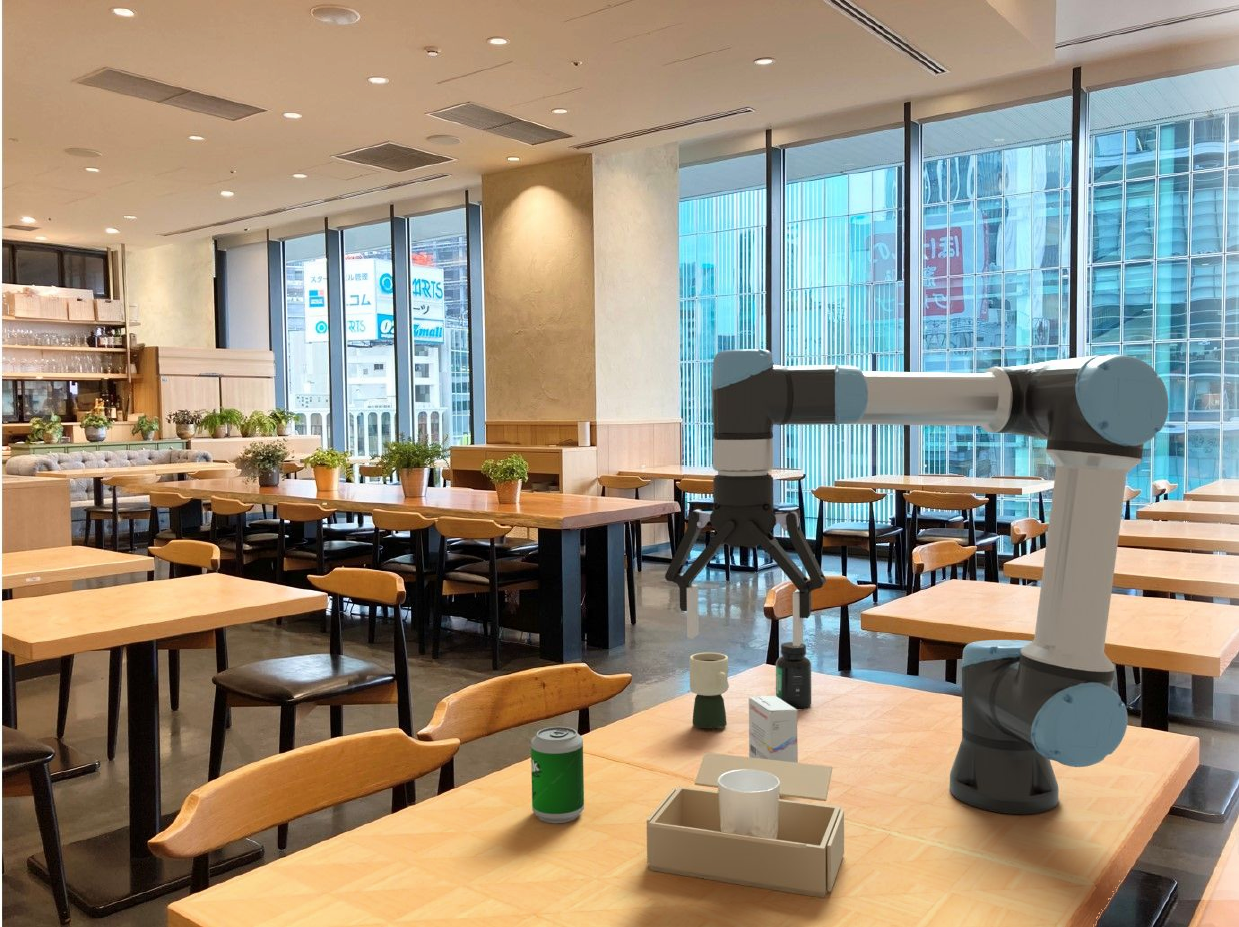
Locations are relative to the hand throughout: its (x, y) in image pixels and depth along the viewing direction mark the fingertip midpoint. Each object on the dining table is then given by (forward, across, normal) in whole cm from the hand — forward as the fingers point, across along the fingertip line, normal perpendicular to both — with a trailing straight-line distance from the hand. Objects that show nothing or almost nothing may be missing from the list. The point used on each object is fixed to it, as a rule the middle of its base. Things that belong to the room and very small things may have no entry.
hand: (744, 640), depth 125 cm
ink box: (+29, +3, -30) cm, 42 cm away
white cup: (+28, 0, 0) cm, 28 cm away
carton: (+29, 0, 0) cm, 29 cm away
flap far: (+22, 0, -7) cm, 24 cm away
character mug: (+29, +19, -50) cm, 61 cm away
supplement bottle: (+29, +7, -68) cm, 75 cm away
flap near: (+22, 0, +7) cm, 24 cm away
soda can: (+29, +29, -6) cm, 41 cm away
